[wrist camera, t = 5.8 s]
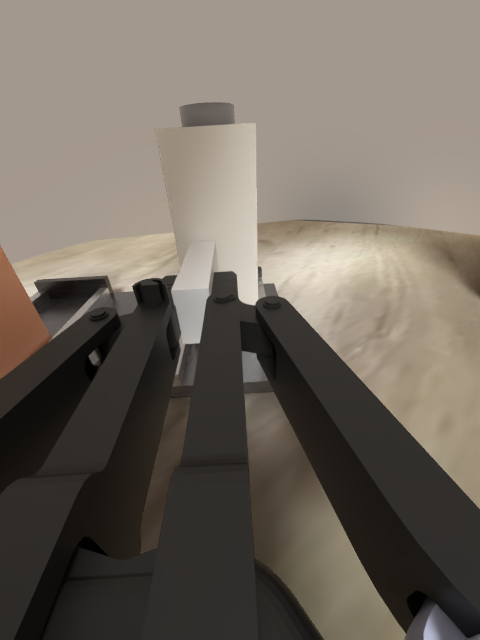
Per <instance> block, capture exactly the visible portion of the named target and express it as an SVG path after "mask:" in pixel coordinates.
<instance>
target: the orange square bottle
mask: <svg viewBox="0 0 480 640" xmlns="http://www.w3.org/2000/svg"><path fill="white" fill-rule="evenodd" d="M51 339H52V337H51V336H50V334H49V332H48V330H47V328H46V327H45V325H44V323H43V321H42V319H41V318H40V316H39V314H38V312H37V310H36V309H35V307H34V305H33V303H32V302H31V300H30V298H29V296H28V294H27V293H26V291H25V289H24V287H23V285H22V284H21V282H20V280H19V278H18V277H17V275H16V273H15V271H14V269H13V268H12V266H11V264H10V262H9V261H8V259H7V257H6V255H5V253H4V252H3V250H2V248H1V246H0V379H1V378H3V377H4V376H5V375H6V374H8V373H9V372H10V371H12V370H13V369H14V368H16V367H17V366H18V365H20V364H21V363H22V362H23V361H25V360H26V359H27V358H29V357H30V356H31V355H33V354H34V353H35V352H36V351H38V350H39V349H40V348H42V347H43V346H44V345H46V344H47V343H48V342H49V341H50V340H51Z"/></svg>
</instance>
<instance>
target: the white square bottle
mask: <svg viewBox="0 0 480 640" xmlns="http://www.w3.org/2000/svg"><path fill="white" fill-rule="evenodd" d="M180 116H181V123H182V127H178V128H161V129H155V132H156V137H157V142H158V148H159V154H160V159H161V164H162V169H163V175H164V181H165V185H166V191H167V197H168V201H169V207H170V213H171V218H172V224H173V229H174V235H175V240H176V245H177V251H178V256H179V262H180V267H181V265H182V263H183V260H184V258H185V256H186V253H187V251H188V248H189V246H190V244H191V242H202V241H216V251H217V261H218V271H219V272H226V271H233V272H234V273H235V274H236V275H237V286H238V298H239V300H240V301H241V302H243V303H246V304H249V305H255V304H256V302H257V300H258V253H257V181H256V123H246V124H235V120H234V105H233V104H230V103H197V104H190V105H185V106H181V107H180Z"/></svg>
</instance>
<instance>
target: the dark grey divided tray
mask: <svg viewBox="0 0 480 640" xmlns="http://www.w3.org/2000/svg"><path fill="white" fill-rule="evenodd" d="M34 284H35V286H36V287H37V289H38V291H39V292H37V293H36V294H34V295H33V296H32V297H30V300H31V302H32V303H33V305H34V307H35V309H36V310H37V312H38V314H39V316H40V318H41V319H42V321H43V323H44V325H45V327H46V328H47V330H48V332H49V334H50V336H51V337H52V339H53V338H55V337H56V336H57V335H59V334H60V333H61V332H63V331H64V330H65V329H66V328H68V327H69V326H70V325H72V324H73V323H74V322H76V321H77V320H78V319H79V318H81V317H82V316H83V315H85V314H86V313H88V312H90V311H92V310H94V309H96V308H100V307H111V308H114V309H116V310H117V313H118V315H119V316H121V315H125V314H130V313H133V311H134V310H135V308H136V306H137V305H138V303H137V300H136V297H135V294H134V292H120V293H113V291H112V288H111V285H110V282H109V279H108V277H107V276H94V277H77V278H60V279H43V280H37V281H36V282H34ZM267 296H278V295H277V291H276V288H275V285H274V284H263V282H262V269H261V267H258V300H259V299H260V298H263V297H267ZM52 339H51V340H52ZM51 340H50V341H51ZM179 343H180V348H181V352H180V357H179V361H178V365H177V369H176V374H175V378H174V382H173V386H172V391H171V395H170V397H188V396H192V390H193V384H194V377H195V371H196V364H197V358H198V352H199V345H200V343H194V344H183V343H182V339H181V336H180V339H179ZM89 358H90V360H91V362H92V364H93V365H94V364H95V363H96V362H97V361H98V358H97V356H96V354H95V351H93V352H92V353H91V354H90V355H89ZM242 366H243V383H244V393H258V392H274V391H273V389H272V387H271V385H270V383H269V381H268V379H267V377H266V375H265V373H264V371H263V369H262V367H261V365H260V363H259V361H258V359H257V355H256V353H251V352H245V351H242Z"/></svg>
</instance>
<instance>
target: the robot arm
mask: <svg viewBox="0 0 480 640" xmlns="http://www.w3.org/2000/svg"><path fill="white" fill-rule="evenodd" d="M132 287H133V290H134V294H135V297H136V300H137V303H138V305H137V306H136V308H135V310H134V311H133V313H130V314H125V315H121V316H119V315H118V313H117V310H116V309H114V308H111V307H100V308H96V309H94V310H92V311H90V312H88V313H86V314H85V315H83V316H82V317H81V318H79V319H78V320H77V321H76V322H74V323H73V324H72V325H70V326H69V327H68V328H66V329H65V330H64V331H63V332H61V333H60V334H59V335H57V336H56V337H55V338H53V339H52V340H51V341H49V342H48V343H47V344H46V345H44V346H43V347H42V348H40V349H39V350H38V351H36V352H35V353H34V354H33V355H31V356H30V357H29V358H27V359H26V360H25V361H23V362H22V363H21V364H20V365H18V366H17V367H16V368H14V369H13V370H12V371H10V372H9V373H8V374H6V375H5V376H4V377H3V378H1V379H0V640H324V639H323V638H322V636H321V635H320V633H319V632H318V630H317V629H316V627H315V626H314V624H313V623H312V621H311V620H310V618H309V617H308V615H307V614H306V612H305V611H304V609H303V608H302V606H301V605H300V603H299V602H298V600H297V599H296V598H295V596H294V595H293V593H292V592H291V591H290V589H289V588H288V587H287V586H286V585H285V584H284V582H283V581H282V580H281V579H280V578H279V577H278V576H277V575H276V574H275V573H274V572H273V571H272V570H271V569H269V568H268V567H267V566H266V565H264V564H263V563H261V562H260V561H258V560H257V559H255V558H254V549H253V533H252V516H251V500H250V483H249V466H248V450H247V433H246V416H245V399H244V383H243V366H242V351H245V352H251V353H256V355H257V359H258V361H259V363H260V365H261V367H262V369H263V371H264V373H265V375H266V377H267V379H268V381H269V383H270V385H271V387H272V389H273V391H274V393H275V394H276V396H277V398H278V400H279V402H280V404H281V406H282V408H283V410H284V412H285V414H286V416H287V418H288V420H289V422H290V424H291V426H292V428H293V430H294V432H295V434H296V436H297V438H298V440H299V442H300V444H301V446H302V448H303V450H304V451H305V453H306V455H307V457H308V459H309V461H310V463H311V465H312V467H313V469H314V471H315V473H316V475H317V477H318V479H319V481H320V483H321V485H322V487H323V489H324V491H325V493H326V495H327V497H328V499H329V501H330V503H331V505H332V507H333V508H334V510H335V512H336V514H337V516H338V518H339V520H340V522H341V524H342V526H343V528H344V530H345V532H346V534H347V536H348V538H349V540H350V542H351V544H352V546H353V548H354V550H355V552H356V554H357V556H358V558H359V560H360V561H361V563H362V565H363V567H364V568H365V570H366V572H367V574H368V576H369V577H370V579H371V581H372V583H373V585H374V586H375V588H376V590H377V591H378V593H379V595H380V596H381V598H382V599H383V601H384V602H385V604H386V605H387V607H388V608H389V610H390V611H391V613H392V614H393V616H394V617H395V619H396V620H397V622H398V623H399V625H400V626H401V627H402V629H403V630H404V631H405V633H406V637H405V640H480V509H479V508H478V507H477V506H476V505H475V504H474V503H473V501H472V500H471V499H470V498H469V497H468V496H467V495H466V494H465V493H464V492H463V491H462V490H461V488H460V487H459V486H458V485H457V484H456V483H455V482H454V481H453V480H452V479H451V478H450V476H449V475H448V474H447V473H446V472H445V471H444V470H443V469H442V468H441V467H440V466H439V465H438V463H437V462H436V461H435V460H434V459H433V458H432V457H431V456H430V455H429V454H428V453H427V452H426V450H425V449H424V448H423V447H422V446H421V445H420V444H419V443H418V442H417V441H416V440H415V438H414V437H413V436H412V435H411V434H410V433H409V432H408V431H407V430H406V429H405V428H404V427H403V425H402V424H401V423H400V422H399V421H398V420H397V419H396V418H395V417H394V416H393V415H392V414H391V412H390V411H389V410H388V409H387V408H386V407H385V406H384V405H383V404H382V403H381V402H380V400H379V399H378V398H377V397H376V396H375V395H374V394H373V393H372V392H371V391H370V390H369V389H368V387H367V386H366V385H365V384H364V383H363V382H362V381H361V380H360V379H359V378H358V377H357V376H356V374H355V373H354V372H353V371H352V370H351V369H350V368H349V367H348V366H347V365H346V364H345V362H344V361H343V360H342V359H341V358H340V357H339V356H338V355H337V354H336V353H335V352H334V351H333V349H332V348H331V347H330V346H329V345H328V344H327V343H326V342H325V341H324V340H323V339H322V338H321V336H320V335H319V334H318V333H317V332H316V331H315V330H314V329H313V328H312V327H311V326H310V324H309V323H308V322H307V321H306V320H305V319H304V318H303V317H302V316H301V315H300V314H299V313H298V311H297V310H296V309H295V308H294V307H293V306H292V305H291V304H290V303H289V302H288V301H287V300H286V299H284V298H281V297H278V296H267V297H263V298H260V299H259V300H257V302H256V304H255V305H249V304H246V303H243V302H241V301H240V300H239V298H238V286H237V275H236V274H235V273H234V272H233V271H226V272H219V271H218V261H217V251H216V241H202V242H191V244H190V246H189V248H188V251H187V253H186V256H185V258H184V260H183V263H182V265H181V268H180V270H179V272H178V275H173V276H165V277H164V278H163V279H159V278H151V279H145V280H142V281H139V282H137V283H135V284H134V285H133V286H132ZM180 336H181V339H182V343H183V344H194V343H200V345H199V352H198V358H197V364H196V371H195V377H194V384H193V390H192V397H191V403H190V410H189V416H188V422H187V429H186V435H185V442H184V448H183V455H182V460H181V463H180V466H178V467H176V468H175V469H174V471H173V473H172V476H171V480H170V484H169V489H168V494H167V500H166V505H165V511H164V516H163V522H162V527H161V533H160V539H159V544H158V548H156V549H153V550H151V551H148V552H146V553H143V554H140V550H141V535H140V526H141V518H142V514H143V509H144V505H145V501H146V497H147V492H148V488H149V484H150V480H151V475H152V471H153V467H154V463H155V459H156V454H157V450H158V446H159V442H160V437H161V433H162V429H163V425H164V420H165V416H166V412H167V408H168V403H169V399H170V395H171V391H172V386H173V382H174V378H175V374H176V369H177V365H178V361H179V357H180V352H181V348H180V343H179V339H180ZM93 351H95V354H96V356H97V358H98V361H97V362H96V363H95V364H94V365H93V364H92V362H91V360H90V358H89V355H90V354H91V353H92V352H93Z"/></svg>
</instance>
